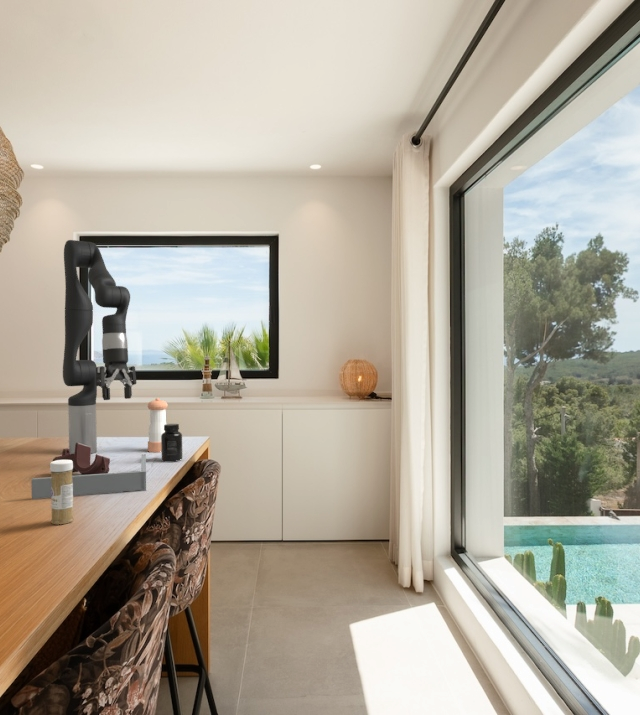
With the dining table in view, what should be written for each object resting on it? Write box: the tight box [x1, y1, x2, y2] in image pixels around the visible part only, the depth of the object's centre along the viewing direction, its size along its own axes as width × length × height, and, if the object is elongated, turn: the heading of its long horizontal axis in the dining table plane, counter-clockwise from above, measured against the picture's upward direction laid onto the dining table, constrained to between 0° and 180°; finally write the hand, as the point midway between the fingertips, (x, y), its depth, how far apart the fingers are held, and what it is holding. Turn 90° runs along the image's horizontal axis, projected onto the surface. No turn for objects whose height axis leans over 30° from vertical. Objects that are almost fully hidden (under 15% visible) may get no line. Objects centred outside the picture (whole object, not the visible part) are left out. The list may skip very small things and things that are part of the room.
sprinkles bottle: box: [49, 460, 74, 525], centre depth 125 cm, size 5×5×13 cm
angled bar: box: [30, 453, 147, 500], centre depth 160 cm, size 25×28×5 cm
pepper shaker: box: [147, 397, 169, 453], centre depth 208 cm, size 7×7×19 cm
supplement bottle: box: [160, 423, 183, 462], centre depth 191 cm, size 7×7×12 cm
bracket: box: [52, 443, 111, 475], centre depth 169 cm, size 6×17×10 cm, turn 78°
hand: (117, 399), depth 180 cm, fingers open, 8 cm apart
